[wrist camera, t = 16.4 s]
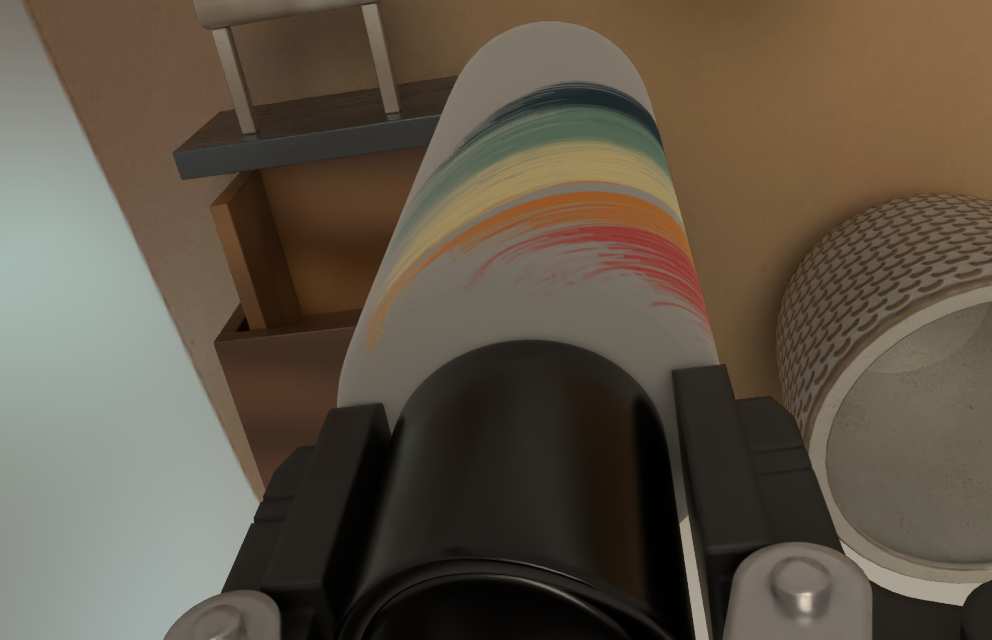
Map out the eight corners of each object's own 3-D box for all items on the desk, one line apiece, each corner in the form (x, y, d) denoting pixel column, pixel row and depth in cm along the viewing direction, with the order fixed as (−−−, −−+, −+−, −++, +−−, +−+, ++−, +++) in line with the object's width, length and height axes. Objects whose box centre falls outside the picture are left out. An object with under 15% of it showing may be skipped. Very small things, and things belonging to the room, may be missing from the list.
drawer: (177, -22, 40) (120, 3, 35) (451, -69, 38) (432, -50, 33) (284, 321, 48) (250, 383, 43) (515, 294, 46) (508, 355, 41)
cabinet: (262, 267, 47) (212, 342, 41) (519, 234, 46) (510, 308, 39) (323, 459, 53) (287, 553, 46) (553, 437, 51) (550, 532, 44)
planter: (762, 146, 43) (831, 271, 31) (1081, 146, 42) (1273, 275, 30) (732, 402, 49) (780, 582, 38) (1006, 408, 48) (1141, 594, 37)
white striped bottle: (563, 249, 28) (554, 965, 11) (409, 136, 27) (119, 749, 10) (693, 103, 26) (945, 723, 9) (531, -29, 25) (439, 391, 7)
